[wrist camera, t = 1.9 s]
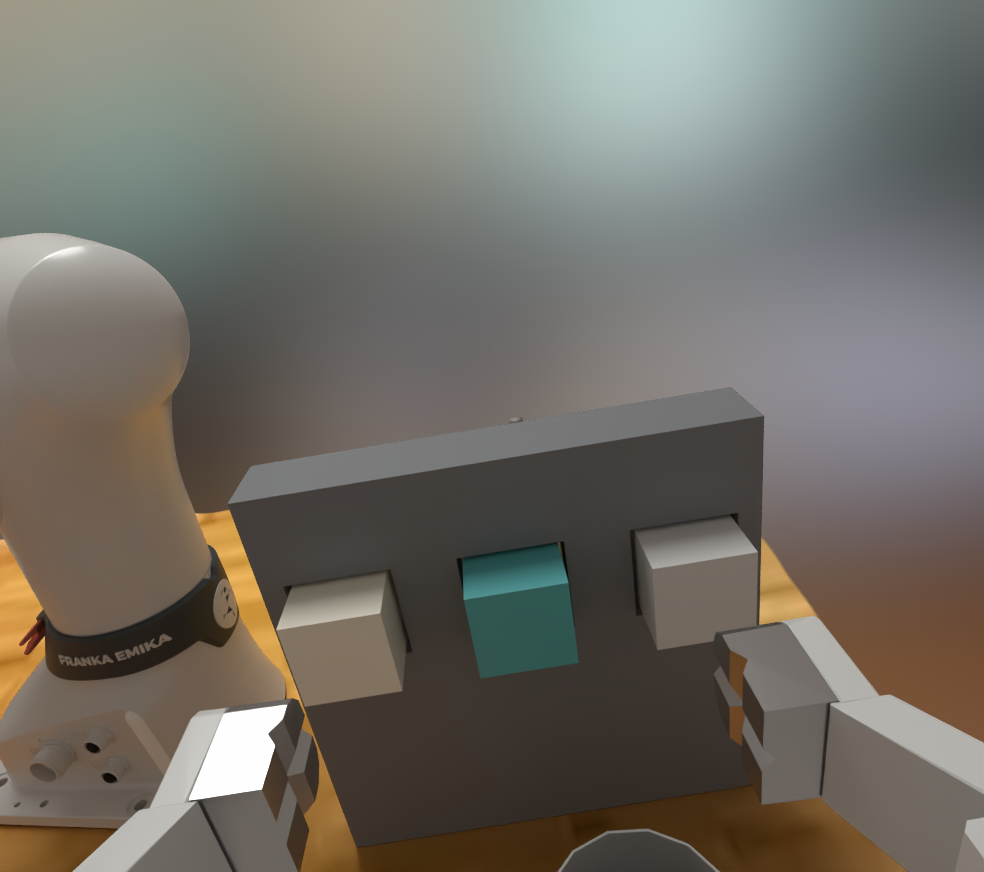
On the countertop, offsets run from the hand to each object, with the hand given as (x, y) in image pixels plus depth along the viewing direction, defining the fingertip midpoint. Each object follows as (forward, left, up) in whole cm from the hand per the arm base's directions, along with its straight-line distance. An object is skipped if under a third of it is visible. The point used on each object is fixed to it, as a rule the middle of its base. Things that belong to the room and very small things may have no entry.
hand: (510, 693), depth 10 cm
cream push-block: (-9, +20, -16) cm, 28 cm away
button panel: (0, +22, -32) cm, 39 cm away
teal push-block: (0, +20, -17) cm, 26 cm away
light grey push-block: (+9, +20, -17) cm, 28 cm away
